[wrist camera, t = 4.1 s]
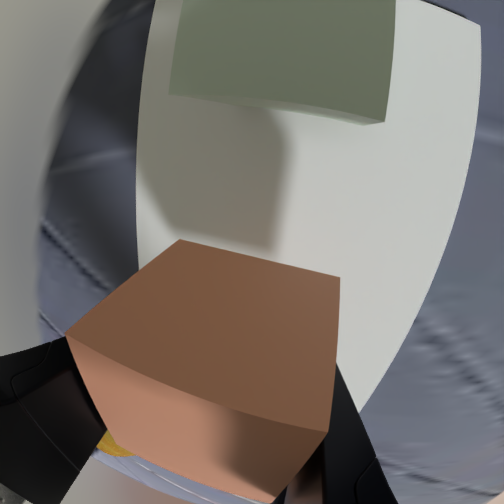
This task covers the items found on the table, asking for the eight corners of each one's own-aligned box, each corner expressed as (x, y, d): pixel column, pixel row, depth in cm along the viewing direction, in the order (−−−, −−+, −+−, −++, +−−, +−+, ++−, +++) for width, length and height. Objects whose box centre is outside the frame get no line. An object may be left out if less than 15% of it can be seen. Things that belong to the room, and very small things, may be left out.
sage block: (362, 125, 9) (384, 121, 5) (235, 105, 9) (168, 94, 5) (375, 12, 7) (394, -52, 3) (250, -1, 7) (198, -60, 4)
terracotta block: (301, 386, 9) (270, 503, 5) (181, 351, 10) (116, 444, 6) (340, 277, 7) (327, 432, 3) (179, 238, 8) (64, 332, 4)
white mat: (335, 437, 16) (334, 444, 16) (160, 386, 19) (156, 392, 18) (474, 29, 6) (480, 26, 5) (165, -9, 8) (159, -13, 8)
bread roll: (161, 440, 25) (144, 468, 21) (131, 445, 29) (117, 467, 25) (99, 391, 24) (78, 417, 20) (82, 404, 28) (65, 424, 24)
